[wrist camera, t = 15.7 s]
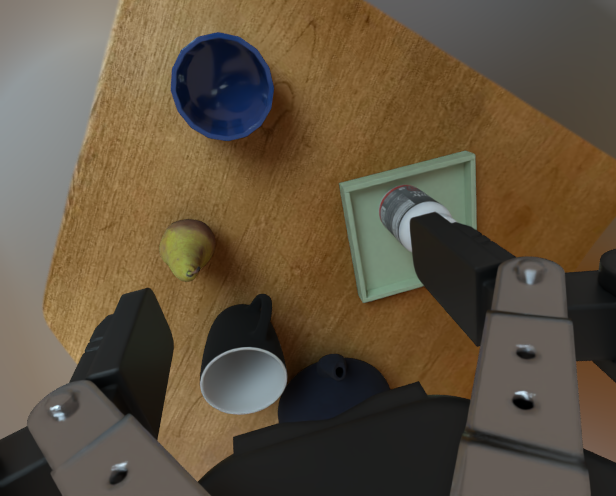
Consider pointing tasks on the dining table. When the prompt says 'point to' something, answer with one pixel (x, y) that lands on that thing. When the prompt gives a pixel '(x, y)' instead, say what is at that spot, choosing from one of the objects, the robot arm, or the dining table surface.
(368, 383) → the teapot
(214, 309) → the dining table surface
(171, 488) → the robot arm
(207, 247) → the fruit
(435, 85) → the dining table surface
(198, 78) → the pen cup
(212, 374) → the mug
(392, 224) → the pill bottle
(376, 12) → the dining table surface
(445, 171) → the tray
